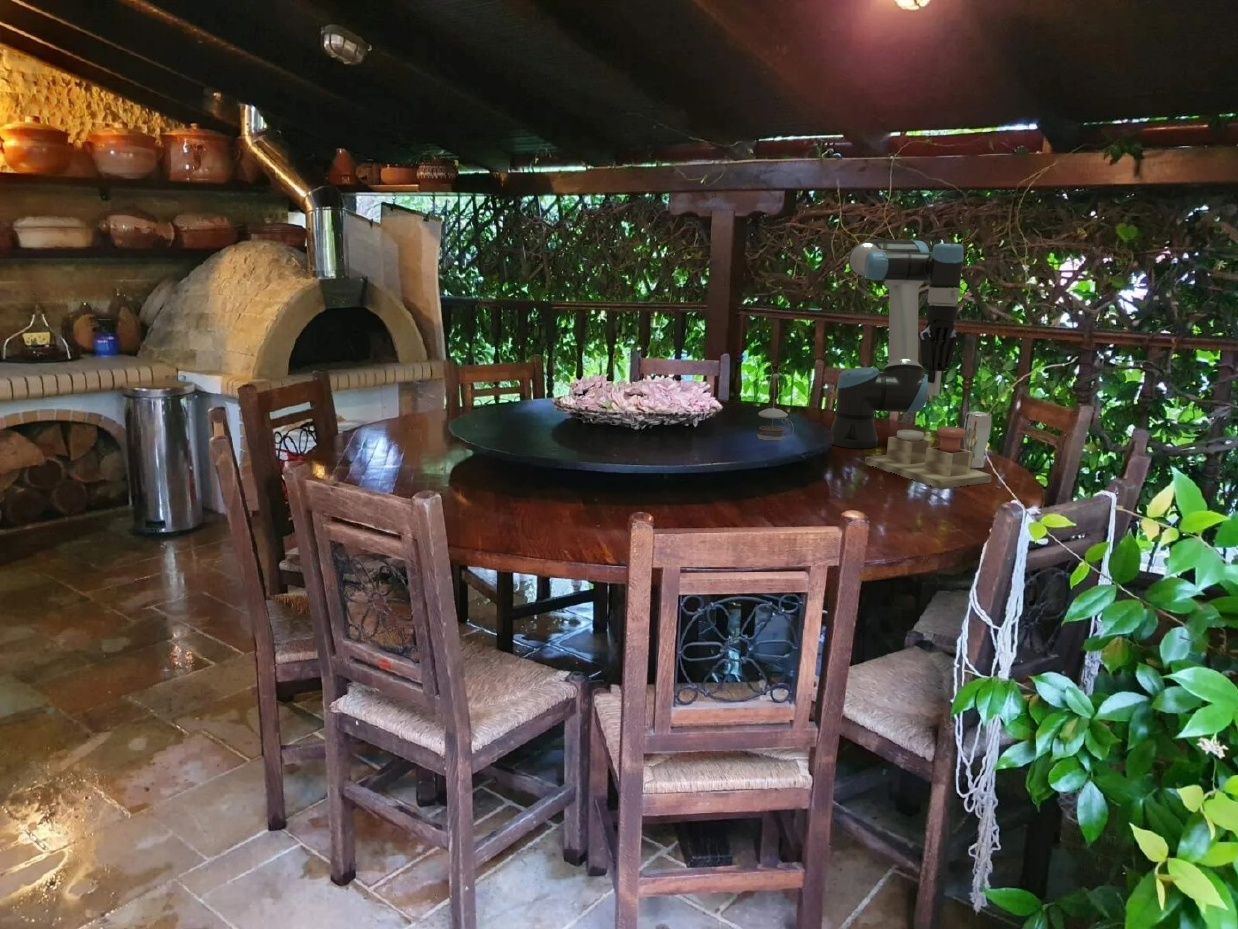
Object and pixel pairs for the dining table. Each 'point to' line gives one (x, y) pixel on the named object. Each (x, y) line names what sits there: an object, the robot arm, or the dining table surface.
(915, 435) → the grey cylinder
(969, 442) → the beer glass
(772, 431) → the french press
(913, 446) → the stand
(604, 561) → the dining table surface
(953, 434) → the brown rounded piece
